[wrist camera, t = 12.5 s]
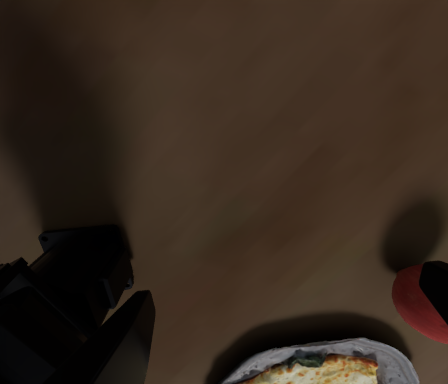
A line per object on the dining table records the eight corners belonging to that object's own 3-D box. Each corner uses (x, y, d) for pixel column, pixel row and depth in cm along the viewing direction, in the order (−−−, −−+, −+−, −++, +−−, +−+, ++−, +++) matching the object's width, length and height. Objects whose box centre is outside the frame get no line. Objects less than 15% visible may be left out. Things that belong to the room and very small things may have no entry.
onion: (406, 235, 22) (510, 304, 14) (443, 264, 23) (556, 342, 15) (360, 278, 23) (431, 361, 16) (397, 303, 24) (479, 390, 17)
